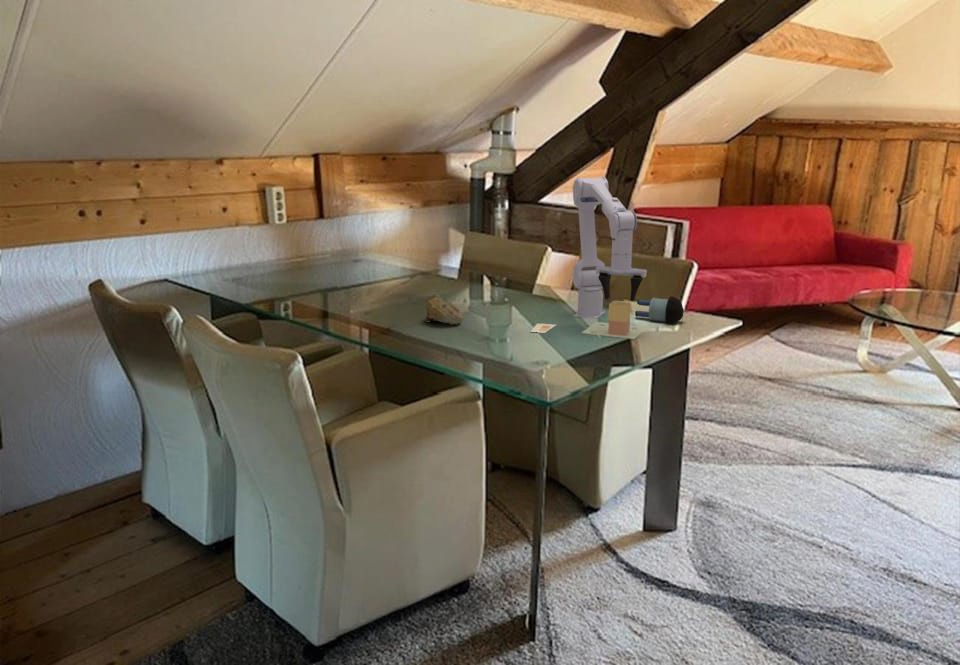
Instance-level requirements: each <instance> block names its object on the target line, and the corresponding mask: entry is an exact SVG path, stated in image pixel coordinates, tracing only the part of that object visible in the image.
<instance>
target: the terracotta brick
mask: <svg viewBox="0 0 960 665" xmlns="http://www.w3.org/2000/svg"><path fill="white" fill-rule="evenodd" d="M608 323H609V329H608V333H609V334H617V335H626V334H627V333H628V332H629V331H630V325H631V318H630V319H628V320H627V321H626V322H617V321H608Z"/></svg>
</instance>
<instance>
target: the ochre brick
mask: <svg viewBox="0 0 960 665" xmlns="http://www.w3.org/2000/svg"><path fill="white" fill-rule="evenodd" d="M628 319H630V320H631V301H626V300H625V301H623V300H622V301H621V300H612V301H611V302H610V303H608V322H609V321H617V322H626V321H627V320H628Z"/></svg>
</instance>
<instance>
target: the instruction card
mask: <svg viewBox="0 0 960 665" xmlns="http://www.w3.org/2000/svg"><path fill="white" fill-rule="evenodd" d="M556 326H557V324H552V323H551V324H549V323H536V324H535V325H534V326H533V328H532V329H531V330H530V331H529V332H537V333H536V334H546V332H548V331H550V330H551V329H553V328H554V327H556Z"/></svg>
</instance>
